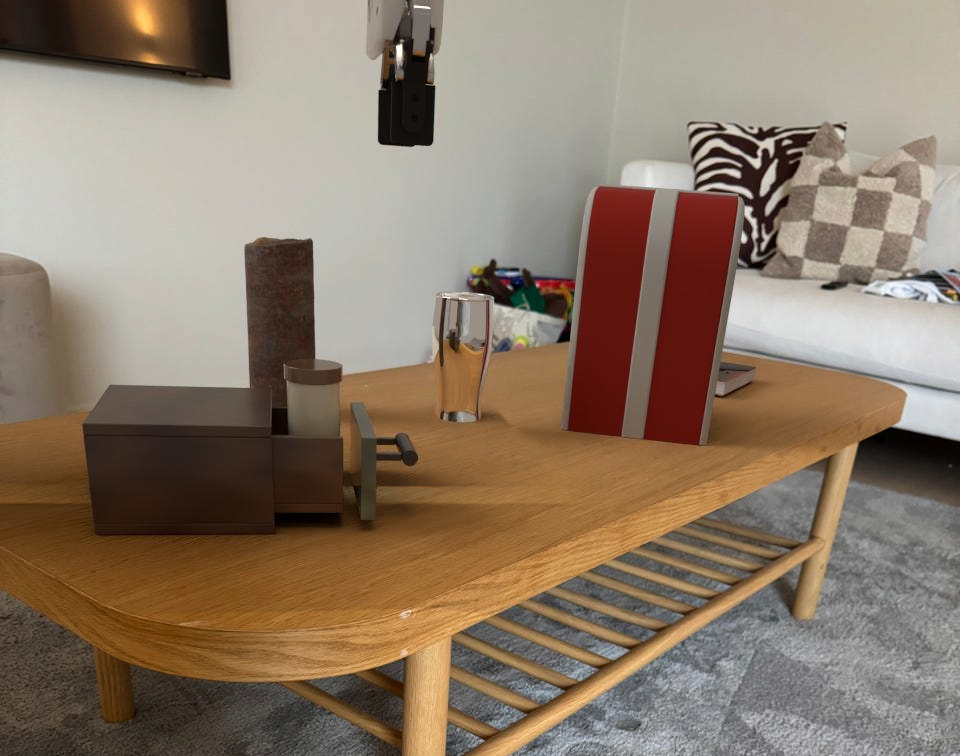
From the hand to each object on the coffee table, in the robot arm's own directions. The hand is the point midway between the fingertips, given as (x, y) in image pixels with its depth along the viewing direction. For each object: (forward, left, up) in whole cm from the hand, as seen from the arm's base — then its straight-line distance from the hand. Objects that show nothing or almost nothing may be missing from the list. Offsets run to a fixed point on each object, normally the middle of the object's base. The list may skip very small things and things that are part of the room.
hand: (403, 145), depth 76 cm
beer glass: (+10, +24, -29) cm, 39 cm away
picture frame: (+50, +58, -29) cm, 82 cm away
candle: (-10, +24, -29) cm, 39 cm away
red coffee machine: (+34, +29, -29) cm, 54 cm away
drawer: (-7, -4, -28) cm, 29 cm away
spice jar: (-8, -4, -27) cm, 28 cm away
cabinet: (-18, -4, -29) cm, 34 cm away
